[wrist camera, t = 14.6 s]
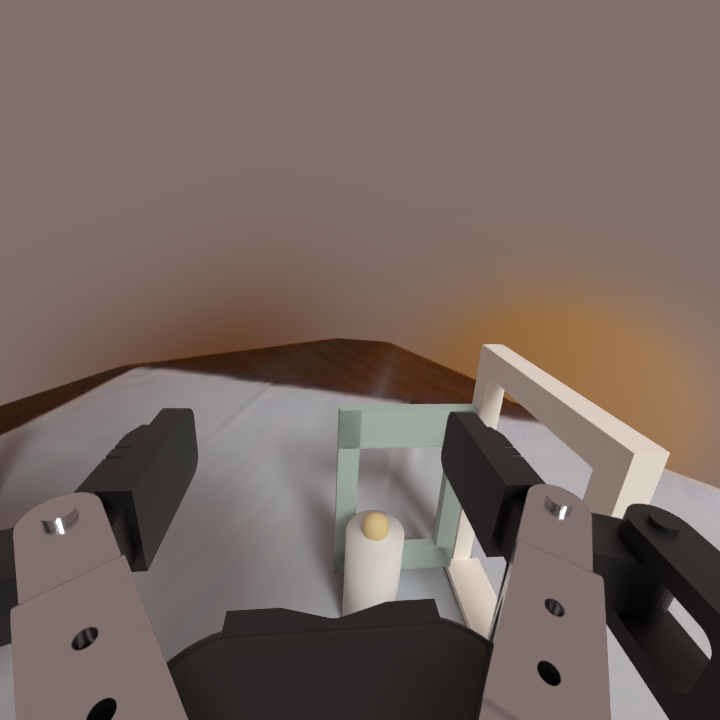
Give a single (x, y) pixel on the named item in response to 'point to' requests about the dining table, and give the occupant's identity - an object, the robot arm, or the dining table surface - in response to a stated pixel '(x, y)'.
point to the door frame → (579, 432)
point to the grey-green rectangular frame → (395, 431)
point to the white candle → (371, 560)
